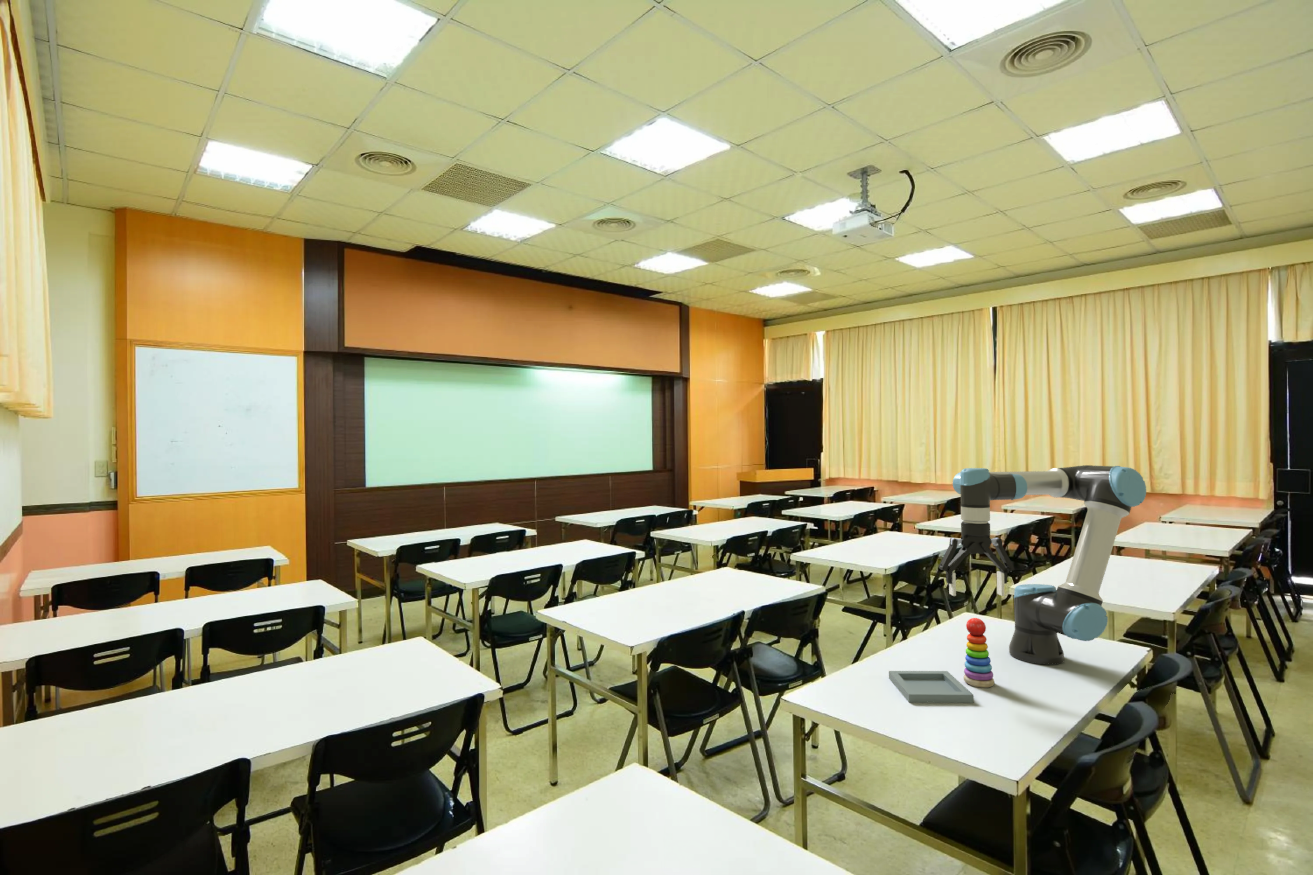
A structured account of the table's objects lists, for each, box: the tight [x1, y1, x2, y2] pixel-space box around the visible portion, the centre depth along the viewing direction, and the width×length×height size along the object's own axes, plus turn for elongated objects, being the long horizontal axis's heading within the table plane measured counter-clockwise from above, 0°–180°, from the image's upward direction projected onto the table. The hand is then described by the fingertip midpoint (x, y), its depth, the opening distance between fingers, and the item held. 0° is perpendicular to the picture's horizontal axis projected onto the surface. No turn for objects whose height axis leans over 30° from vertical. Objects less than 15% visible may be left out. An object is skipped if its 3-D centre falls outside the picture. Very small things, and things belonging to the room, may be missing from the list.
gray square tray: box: [888, 670, 975, 704], centre depth 175 cm, size 17×17×2 cm
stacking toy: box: [963, 617, 995, 689], centre depth 179 cm, size 8×8×19 cm
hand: (976, 594), depth 179 cm, fingers open, 13 cm apart
